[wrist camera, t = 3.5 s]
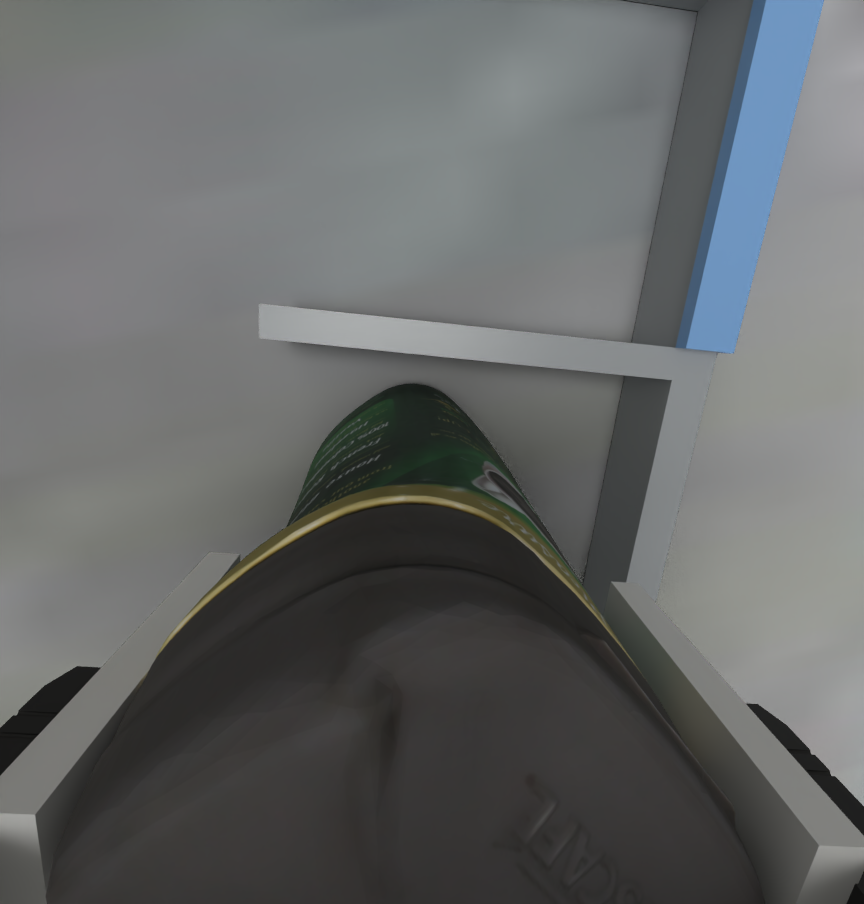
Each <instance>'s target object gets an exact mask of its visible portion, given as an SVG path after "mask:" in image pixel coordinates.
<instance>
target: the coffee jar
mask: <svg viewBox="0 0 864 904" xmlns="http://www.w3.org/2000/svg"><path fill="white" fill-rule="evenodd" d="M45 897H46V902H47V904H766V903H765V899H764V896H763V892H762V889H761V885H760V882H759V879H758V876H757V873H756V871H755V868H754V866H753V864H752V862H751V860H750V858H749V856H748V854H747V852H746V849H745V847H744V845H743V843H742V841H741V839H740V837H739V835H738V833H737V831H736V829H735V811H734V806H733V804H732V803H731V802H730V800H729V799H728V798H727V797H726V795H725V794H724V793H723V791H722V790H721V789H720V788H719V787H718V785H717V784H716V783H715V782H714V780H713V779H712V778H711V777H710V776H709V774H708V773H707V772H706V771H705V769H704V768H703V767H702V766H701V764H700V763H699V762H698V760H697V759H696V758H695V756H694V755H693V754H692V753H691V751H690V750H689V749H688V747H687V745H686V744H685V743H684V741H683V739H682V738H681V736H680V734H679V732H678V731H677V729H676V727H675V725H674V724H673V722H672V720H671V719H670V717H669V715H668V714H667V712H666V710H665V709H664V707H663V705H662V704H661V702H660V700H659V698H658V697H657V695H656V694H655V693H654V691H653V690H652V688H651V687H650V685H649V684H648V682H647V681H646V679H645V678H644V676H643V675H642V673H641V672H640V671H639V669H638V668H637V666H636V665H635V663H634V662H633V661H632V659H631V658H630V656H629V655H628V654H627V652H626V651H625V649H624V648H623V646H622V645H621V643H620V642H619V640H618V638H617V637H616V635H615V634H614V632H613V631H612V629H611V628H610V626H609V625H608V623H607V622H606V620H605V619H604V617H603V616H602V614H601V613H600V611H599V610H598V608H597V607H596V605H595V604H594V602H593V601H592V599H591V598H590V596H589V595H588V593H587V592H586V590H585V589H584V587H583V585H582V584H581V582H580V581H579V579H578V578H577V576H576V575H575V573H574V572H573V570H572V569H571V567H570V566H569V564H568V563H567V561H566V559H565V558H564V556H563V555H562V553H561V552H560V550H559V548H558V546H557V545H556V543H555V542H554V540H553V539H552V537H551V535H550V534H549V532H548V531H547V529H546V528H545V526H544V525H543V523H542V522H541V520H540V519H539V517H538V516H537V514H536V513H535V511H534V510H533V508H532V507H531V505H530V504H529V502H528V501H527V499H526V497H525V496H524V494H523V493H522V491H521V489H520V488H519V486H518V484H517V482H516V481H515V479H514V478H513V476H512V474H511V473H510V471H509V470H508V468H507V467H506V465H505V464H504V462H503V461H502V460H501V458H500V457H499V455H498V454H497V452H496V451H495V450H494V448H493V447H492V445H491V444H490V443H489V441H488V440H487V439H486V437H485V436H484V435H483V434H482V432H481V431H480V430H479V429H478V427H477V426H476V425H475V424H474V423H473V421H472V420H471V419H470V418H469V417H468V416H467V415H466V414H465V413H464V412H463V411H462V410H461V409H460V408H459V407H458V406H457V405H456V404H455V403H454V402H453V401H452V400H451V399H450V398H449V397H448V396H446V395H445V394H443V393H442V392H440V391H438V390H436V389H434V388H432V387H429V386H425V385H420V384H404V385H399V386H395V387H392V388H389V389H387V390H385V391H383V392H381V393H379V394H377V395H376V396H374V397H372V398H371V399H370V400H368V401H367V402H365V403H364V404H363V405H361V406H360V407H358V408H357V409H356V410H354V411H353V412H352V413H351V414H350V415H348V416H347V417H346V418H345V419H343V420H342V421H341V422H340V423H339V424H338V425H337V426H336V427H335V428H334V429H333V431H332V432H331V433H330V434H329V435H328V437H327V438H326V439H325V441H324V442H323V443H322V445H321V447H320V448H319V450H318V452H317V454H316V456H315V458H314V460H313V462H312V464H311V467H310V469H309V472H308V475H307V477H306V480H305V483H304V486H303V488H302V491H301V494H300V496H299V499H298V501H297V504H296V506H295V509H294V511H293V513H292V516H291V518H290V520H289V523H288V525H287V527H286V528H285V529H283V530H281V531H280V532H279V533H277V534H276V535H274V536H273V537H271V538H270V539H268V540H267V541H266V542H264V543H263V544H261V545H260V546H259V547H258V548H256V549H255V550H254V551H253V552H251V553H250V554H249V555H248V556H246V557H245V558H244V559H243V560H242V561H241V562H239V563H238V564H237V565H236V566H235V567H234V568H233V569H231V570H230V571H229V572H228V573H227V574H226V575H225V576H224V577H223V578H222V579H221V580H220V581H219V582H218V583H216V584H215V585H214V586H213V587H212V588H211V589H210V590H209V591H208V592H207V593H206V594H205V595H204V596H203V597H202V598H201V599H200V600H199V602H198V603H197V604H196V605H195V606H194V607H193V608H192V609H191V611H190V612H189V613H188V614H187V615H186V616H185V617H184V619H183V620H182V621H181V622H180V623H179V624H178V625H177V626H176V628H175V629H174V630H173V631H172V632H171V633H170V635H169V636H168V637H167V639H166V640H165V642H164V643H163V645H162V647H161V649H160V650H159V652H158V654H157V656H156V659H155V661H154V662H153V664H152V665H151V667H150V670H149V672H148V674H147V676H146V677H145V679H144V681H143V683H142V685H141V686H140V688H139V690H138V692H137V693H136V695H135V697H134V699H133V701H132V702H131V704H130V706H129V708H128V709H127V711H126V713H125V715H124V717H123V719H122V721H121V724H120V726H119V728H118V730H117V732H116V734H115V736H114V738H113V740H112V743H111V744H110V745H109V746H108V748H107V749H106V750H105V751H104V752H103V754H102V755H101V757H100V758H99V760H98V762H97V763H96V765H95V767H94V769H93V771H92V773H91V776H90V778H89V780H88V782H87V785H86V787H85V789H84V791H83V793H82V795H81V797H80V799H79V801H78V803H77V805H76V807H75V809H74V811H73V813H72V815H71V817H70V819H69V821H68V823H67V826H66V828H65V830H64V833H63V835H62V837H61V839H60V842H59V844H58V846H57V848H56V851H55V853H54V855H53V860H52V866H51V871H50V878H49V882H48V887H47V891H46V896H45Z"/></svg>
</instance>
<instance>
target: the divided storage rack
mask: <svg viewBox="0 0 864 904" xmlns="http://www.w3.org/2000/svg"><path fill="white" fill-rule="evenodd" d="M627 1H633V2H640V3H646V4H653V5H660V6H666V7H673V8H679V9H686V10H692V11H698V15H697V20H696V25H695V30H694V35H693V40H692V45H691V50H690V55H689V60H688V65H687V70H686V75H685V80H684V85H683V90H682V95H681V100H680V105H679V110H678V114H677V119H676V124H675V129H674V134H673V139H672V144H671V149H670V154H669V159H668V164H667V169H666V174H665V179H664V184H663V189H662V194H661V199H660V204H659V209H658V214H657V219H656V224H655V229H654V234H653V239H652V244H651V249H650V253H649V258H648V263H647V268H646V273H645V278H644V283H643V288H642V293H641V298H640V303H639V308H638V313H637V318H636V323H635V328H634V333H633V338H632V343H626V342H617V341H607V340H598V339H588V338H579V337H570V336H560V335H551V334H541V333H532V332H522V331H513V330H504V329H494V328H485V327H475V326H466V325H456V324H447V323H438V322H428V321H419V320H409V319H400V318H390V317H381V316H372V315H362V314H353V313H343V312H334V311H324V310H315V309H306V308H296V307H287V306H277V305H268V304H259V338H262V339H271V340H281V341H291V342H301V343H311V344H321V345H331V346H340V347H350V348H360V349H370V350H380V351H390V352H399V353H409V354H419V355H429V356H439V357H449V358H458V359H468V360H478V361H488V362H498V363H508V364H518V365H527V366H537V367H547V368H557V369H567V370H577V371H586V372H596V373H606V374H616V375H625V378H624V383H623V388H622V392H621V397H620V402H619V407H618V412H617V417H616V422H615V427H614V432H613V437H612V442H611V447H610V452H609V457H608V462H607V467H606V472H605V477H604V482H603V487H602V492H601V497H600V502H599V507H598V512H597V517H596V522H595V527H594V531H593V536H592V541H591V546H590V551H589V556H588V561H587V566H586V571H585V576H584V581H583V587H584V589H585V590H586V592H587V593H588V595H589V596H590V598H591V599H592V601H593V602H594V604H595V605H596V607H597V608H598V610H599V611H600V613H601V614H602V616H603V615H604V611H605V606H606V601H607V597H608V592H609V588H610V583H611V581H612V582H626V583H638V584H639V585H640V586H641V587H642V588H643V589H644V590H645V591H646V593H647V594H648V595H649V596H650V597H651V598H652V599H653V600H654V601H655V603H656V599H657V595H658V591H659V587H660V583H661V579H662V575H663V571H664V567H665V563H666V559H667V555H668V551H669V547H670V543H671V539H672V534H673V530H674V526H675V522H676V518H677V514H678V510H679V506H680V502H681V498H682V494H683V490H684V486H685V482H686V478H687V474H688V470H689V466H690V462H691V458H692V453H693V449H694V445H695V441H696V437H697V433H698V429H699V425H700V421H701V417H702V413H703V409H704V405H705V401H706V397H707V393H708V389H709V385H710V381H711V377H712V373H713V368H714V364H715V360H716V356H717V353H734V350H735V346H736V342H737V339H738V335H739V331H740V327H741V323H742V319H743V315H744V311H745V307H746V303H747V299H748V296H749V292H750V288H751V284H752V280H753V276H754V272H755V268H756V264H757V260H758V256H759V252H760V249H761V245H762V241H763V237H764V233H765V229H766V225H767V221H768V217H769V213H770V209H771V206H772V202H773V198H774V194H775V190H776V186H777V182H778V178H779V174H780V170H781V166H782V162H783V159H784V155H785V151H786V147H787V143H788V139H789V135H790V131H791V127H792V123H793V119H794V116H795V112H796V108H797V104H798V100H799V96H800V92H801V88H802V84H803V80H804V76H805V72H806V69H807V65H808V61H809V57H810V53H811V49H812V45H813V41H814V37H815V33H816V29H817V26H818V22H819V18H820V14H821V10H822V6H823V2H824V0H627Z"/></svg>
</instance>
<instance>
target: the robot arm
mask: <svg viewBox="0 0 864 904" xmlns="http://www.w3.org/2000/svg"><path fill="white" fill-rule="evenodd" d="M239 562H240V554H232V553H219V552H209V553H208V554H207V555H206V556H205V557H204V558H203V559H202V560H201V562H200V563H199V564H198V565H197V566H196V567H195V568H194V569H193V570H192V571H191V572H190V573H189V574H188V575H187V577H186V578H185V579H184V580H183V581H182V582H181V583H180V584H179V585H178V586H177V587H176V588H175V589H174V590H173V591H172V593H171V594H170V595H169V596H168V597H167V598H166V599H165V600H164V601H163V602H162V603H161V604H160V605H159V606H158V608H157V609H156V610H155V611H154V612H153V613H152V614H151V615H150V616H149V617H148V618H147V619H146V620H145V621H144V623H143V624H142V625H141V626H140V627H139V628H138V629H137V630H136V631H135V632H134V633H133V634H132V635H131V636H130V637H129V639H128V640H127V641H126V642H125V643H124V644H123V645H122V646H121V647H120V648H119V649H118V650H117V651H116V652H115V654H114V655H113V656H112V657H111V658H110V659H109V660H108V661H107V662H106V663H105V664H104V665H103V666H102V667H101V668H98V667H80V666H77V667H75V668H73V669H72V670H70V671H68V672H67V673H65V674H63V675H62V676H60V677H58V678H57V679H55V680H53V681H52V682H50V683H48V684H47V685H45V686H44V687H43V688H42V689H41V690H40V691H38V692H37V693H36V694H35V695H34V696H33V697H32V698H31V699H30V700H29V701H28V702H27V703H26V704H25V705H24V706H23V707H22V708H21V709H20V710H19V711H18V714H17V715H16V716H14V715H13V716H12V717H11V718H10V719H9V720H8V721H7V722H6V723H5V724H4V725H3V726H2V727H1V728H0V904H47V902H46V897H45V896H46V891H47V887H48V882H49V878H50V871H51V866H52V860H53V855H54V853H55V851H56V848H57V846H58V844H59V842H60V839H61V837H62V835H63V833H64V830H65V828H66V826H67V823H68V821H69V819H70V817H71V815H72V813H73V811H74V809H75V807H76V805H77V803H78V801H79V799H80V797H81V795H82V793H83V791H84V789H85V787H86V785H87V782H88V780H89V778H90V776H91V773H92V771H93V769H94V767H95V765H96V763H97V762H98V760H99V758H100V757H101V755H102V754H103V752H104V751H105V750H106V749H107V748H108V746H109V745H110V744H111V743H112V740H113V738H114V736H115V734H116V732H117V730H118V728H119V726H120V724H121V721H122V719H123V717H124V715H125V713H126V711H127V709H128V708H129V706H130V704H131V702H132V701H133V699H134V697H135V695H136V693H137V692H138V690H139V688H140V686H141V685H142V683H143V681H144V679H145V677H146V676H147V674H148V672H149V670H150V667H151V665H152V664H153V662H154V661H155V659H156V656H157V654H158V652H159V650H160V649H161V647H162V645H163V643H164V642H165V640H166V639H167V637H168V636H169V635H170V633H171V632H172V631H173V630H174V629H175V628H176V626H177V625H178V624H179V623H180V622H181V621H182V620H183V619H184V617H185V616H186V615H187V614H188V613H189V612H190V611H191V609H192V608H193V607H194V606H195V605H196V604H197V603H198V602H199V600H200V599H201V598H202V597H203V596H204V595H205V594H206V593H207V592H208V591H209V590H210V589H211V588H212V587H213V586H214V585H215V584H216V583H218V582H219V581H220V580H221V579H222V578H223V577H224V576H225V575H226V574H227V573H228V572H229V571H230V570H231V569H233V568H234V567H235V566H236V565H237V564H238V563H239ZM603 617H604V619H605V620H606V622H607V623H608V625H609V626H610V628H611V629H612V631H613V632H614V634H615V635H616V637H617V638H618V640H619V642H620V643H621V645H622V646H623V648H624V649H625V651H626V652H627V654H628V655H629V656H630V658H631V659H632V661H633V662H634V663H635V665H636V666H637V668H638V669H639V671H640V672H641V673H642V675H643V676H644V678H645V679H646V681H647V682H648V684H649V685H650V687H651V688H652V690H653V691H654V693H655V694H656V695H657V697H658V698H659V700H660V702H661V704H662V705H663V707H664V709H665V710H666V712H667V714H668V715H669V717H670V719H671V720H672V722H673V724H674V725H675V727H676V729H677V731H678V732H679V734H680V736H681V738H682V739H683V741H684V743H685V744H686V745H687V747H688V749H689V750H690V751H691V753H692V754H693V755H694V756H695V758H696V759H697V760H698V762H699V763H700V764H701V766H702V767H703V768H704V769H705V771H706V772H707V773H708V774H709V776H710V777H711V778H712V779H713V780H714V782H715V783H716V784H717V785H718V787H719V788H720V789H721V790H722V791H723V793H724V794H725V795H726V797H727V798H728V799H729V800H730V802H731V803H732V804H733V806H734V811H735V829H736V831H737V833H738V835H739V837H740V839H741V841H742V843H743V845H744V847H745V849H746V852H747V854H748V856H749V858H750V860H751V862H752V864H753V866H754V868H755V871H756V873H757V876H758V879H759V882H760V885H761V889H762V892H763V896H764V899H765V903H766V904H864V806H863V805H862V804H861V803H860V802H859V801H858V800H857V799H856V798H855V797H854V796H853V795H852V794H851V793H850V792H849V790H848V789H847V788H846V787H845V786H844V785H843V784H842V783H841V782H840V781H839V780H838V779H837V778H836V777H835V776H831V774H830V770H829V769H828V768H827V767H826V766H825V765H824V764H823V763H822V762H821V761H820V760H819V759H818V758H817V757H816V756H815V755H811V753H810V749H809V748H808V747H807V746H806V745H805V744H804V743H803V742H802V741H801V740H800V739H799V738H798V737H797V736H796V735H795V734H794V732H793V731H792V730H791V729H790V728H789V727H788V726H787V725H786V724H784V723H783V722H781V721H780V720H779V719H777V718H776V717H775V716H773V715H772V714H770V713H769V712H768V711H766V710H765V709H764V708H762V707H761V706H759V705H758V704H746V703H745V702H744V701H743V700H742V699H741V698H740V697H739V696H738V695H737V693H736V692H735V691H734V690H733V689H732V688H731V687H730V686H729V684H728V683H727V682H726V681H725V680H724V679H723V678H722V677H721V675H720V674H719V673H718V672H717V671H716V670H715V669H714V668H713V666H712V665H711V664H710V663H709V662H708V661H707V660H706V659H705V658H704V656H703V655H702V654H701V653H700V652H699V651H698V650H697V649H696V647H695V646H694V645H693V644H692V643H691V642H690V641H689V640H688V638H687V637H686V636H685V635H684V634H683V633H682V632H681V631H680V630H679V628H678V627H677V626H676V625H675V624H674V623H673V622H672V621H671V619H670V618H669V617H668V616H667V615H666V614H665V613H664V612H663V610H662V609H661V608H660V607H659V606H658V605H657V604H656V603H655V601H654V600H653V599H652V598H651V597H650V596H649V595H648V594H647V593H646V591H645V590H644V589H643V588H642V587H641V586H640V585H639V584H638V583H626V582H612V581H611V583H610V588H609V592H608V597H607V601H606V606H605V611H604V615H603Z"/></svg>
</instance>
